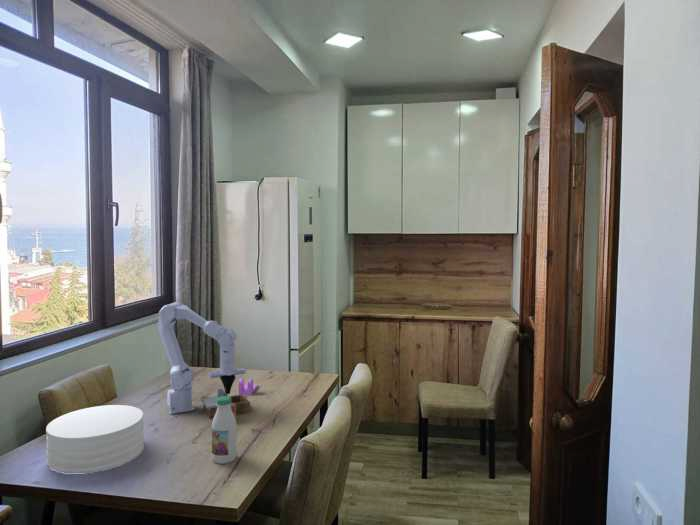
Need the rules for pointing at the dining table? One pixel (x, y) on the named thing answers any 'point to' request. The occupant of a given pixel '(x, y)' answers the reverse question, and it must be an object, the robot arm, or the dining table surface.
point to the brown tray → (238, 400)
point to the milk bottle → (224, 432)
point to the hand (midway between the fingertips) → (227, 393)
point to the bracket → (247, 387)
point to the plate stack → (94, 438)
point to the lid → (213, 399)
